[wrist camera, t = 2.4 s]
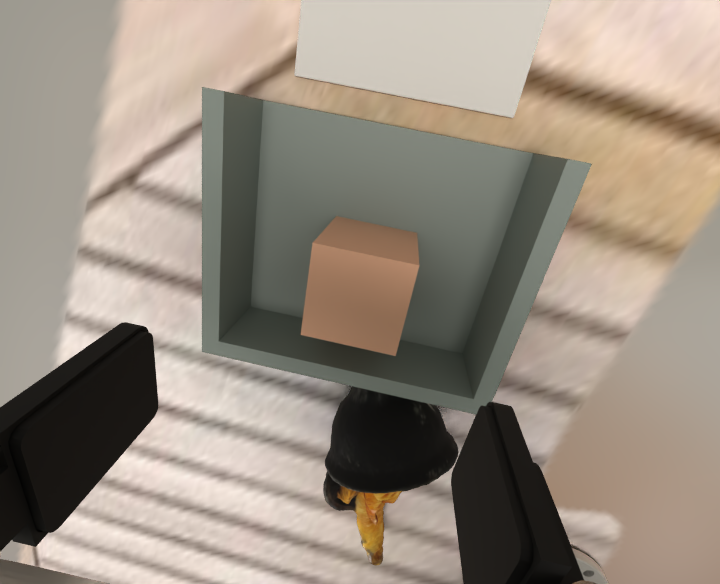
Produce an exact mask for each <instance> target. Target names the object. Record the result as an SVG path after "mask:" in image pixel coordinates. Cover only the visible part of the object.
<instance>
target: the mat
mask: <svg viewBox="0 0 720 584" xmlns="http://www.w3.org/2000/svg"><path fill="white" fill-rule="evenodd" d="M550 3H551V0H301V9H300V20H299V31H298V42H297V53H296V64H295V76H297V77H302V78H307V79H312V80H317V81H322V82H328V83H333V84H338V85H343V86H348V87H353V88H359V89H364V90H369V91H374V92H379V93H384V94H390V95H395V96H400V97H405V98H410V99H415V100H421V101H426V102H431V103H436V104H441V105H446V106H452V107H457V108H462V109H467V110H472V111H477V112H483V113H488V114H493V115H498V116H503V117H508V118H514V115H515V112H516V109H517V106H518V103H519V99H520V96H521V93H522V90H523V87H524V84H525V81H526V78H527V74H528V71H529V68H530V65H531V62H532V59H533V56H534V53H535V49H536V46H537V43H538V40H539V37H540V34H541V31H542V28H543V24H544V21H545V18H546V15H547V12H548V9H549V6H550Z"/></svg>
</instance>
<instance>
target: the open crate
mask: <svg viewBox="0 0 720 584" xmlns="http://www.w3.org/2000/svg"><path fill="white" fill-rule="evenodd" d="M591 165H592V164H591V163H586V162H581V161H575V160H570V159H565V158H559V157H552V156H546V155H540V154H534V153H529V152H524V151H519V150H514V149H509V148H503V147H498V146H493V145H488V144H483V143H478V142H473V141H468V140H463V139H458V138H453V137H448V136H443V135H437V134H432V133H427V132H422V131H417V130H412V129H407V128H402V127H397V126H392V125H387V124H382V123H377V122H372V121H366V120H361V119H356V118H351V117H346V116H341V115H336V114H331V113H326V112H321V111H316V110H311V109H306V108H300V107H295V106H290V105H285V104H280V103H275V102H270V101H265V100H260V99H256V98H252V97H247V96H243V95H238V94H234V93H229V92H225V91H220V90H215V89H210V88H205V87H202V352H205V353H209V354H214V355H218V356H222V357H227V358H231V359H236V360H240V361H244V362H249V363H253V364H257V365H262V366H266V367H271V368H275V369H279V370H284V371H288V372H292V373H297V374H301V375H306V376H310V377H314V378H319V379H323V380H327V381H332V382H336V383H341V384H345V385H349V386H354V387H358V388H363V389H367V390H371V391H376V392H380V393H384V394H389V395H393V396H398V397H402V398H406V399H411V400H415V401H419V402H424V403H428V404H433V405H437V406H441V407H446V408H450V409H454V410H459V411H463V412H468V413H472V414H477V412H478V409H479V407H480V406H486V405H487V403H488V402H492V400H493V398H494V395H495V393H496V391H497V388H498V386H499V384H500V381H501V379H502V376H503V374H504V372H505V369H506V367H507V364H508V362H509V360H510V357H511V355H512V353H513V350H514V348H515V345H516V343H517V341H518V338H519V336H520V334H521V331H522V329H523V326H524V324H525V322H526V319H527V317H528V314H529V312H530V310H531V307H532V305H533V303H534V300H535V298H536V295H537V293H538V291H539V288H540V286H541V284H542V281H543V279H544V276H545V274H546V272H547V269H548V267H549V265H550V262H551V260H552V257H553V255H554V253H555V250H556V248H557V245H558V243H559V241H560V238H561V236H562V234H563V231H564V229H565V226H566V224H567V222H568V219H569V217H570V215H571V212H572V210H573V207H574V205H575V203H576V200H577V198H578V196H579V193H580V191H581V188H582V186H583V184H584V181H585V179H586V176H587V174H588V172H589V169H590V167H591ZM336 216H339V217H344V218H348V219H353V220H358V221H363V222H367V223H372V224H377V225H382V226H387V227H391V228H396V229H401V230H406V231H411V232H415V233H417V238H418V252H419V269H418V273H417V277H416V281H415V284H414V288H413V292H412V296H411V300H410V303H409V307H408V311H407V315H406V319H405V322H404V326H403V330H402V334H401V338H400V341H399V345H398V349H397V353H396V356H393V355H388V354H384V353H380V352H375V351H371V350H366V349H362V348H357V347H353V346H348V345H344V344H339V343H335V342H330V341H326V340H321V339H317V338H312V337H308V336H304V335H301V328H302V320H303V312H304V305H305V297H306V289H307V282H308V274H309V266H310V259H311V251H312V243H313V242H314V241H315V239H316V238H317V237H318V236H319V235H320V234H321V233H322V232H323V231H324V229H325V228H326V227H327V226H328V225H329V224H330V223H331V222H332V220H333V219H334V218H335V217H336Z"/></svg>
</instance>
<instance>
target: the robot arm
mask: <svg viewBox="0 0 720 584" xmlns="http://www.w3.org/2000/svg"><path fill="white" fill-rule="evenodd" d="M157 410H158V394H157V382H156V369H155V357H154V345H153V336H152V334H151V333H149V332H148V329H147V328H146V327H144V326H140V325H135V324H131V323H126V322H125V323H121V324H119V325H118V326H116V327H115V328H113V329H112V330H110V331H109V332H108V333H106V334H105V335H103V336H102V337H100V338H99V339H98V340H96V341H95V342H93V343H92V344H90V345H89V346H88V347H86V348H85V349H83V350H82V351H80V352H79V353H78V354H76V355H75V356H73V357H72V358H70V359H69V360H68V361H66V362H65V363H63V364H62V365H60V366H59V367H58V368H56V369H55V370H53V371H52V372H50V373H49V374H48V375H46V376H45V377H43V378H42V379H40V380H39V381H38V382H36V383H35V384H33V385H32V386H30V387H29V388H28V389H26V390H25V391H23V392H22V393H20V394H19V395H17V396H16V397H15V398H13V399H12V400H10V401H9V402H7V403H6V404H5V405H3V406H2V407H0V558H1V551H2V549H3V548H4V547H5V546H6V545H7V544H8V543H9V542H10V541H11V540H13V541H14V542H18V543H22V544H27V545H31V546H35V547H36V546H37V545H38V544H39V543H40V541H41V540H42V539H43V538H44V537H45V536H46V535H47V533H48V532H49V533H51V532H54V531H55V530H57V529H58V528H59V527H60V526H61V525H62V524H63V523H64V521H65V520H66V519H67V518H68V517H69V516H70V514H71V513H72V512H73V511H74V510H75V509H76V507H77V506H78V505H79V504H80V503H81V502H82V500H83V499H84V498H85V497H86V496H87V495H88V494H89V492H90V491H91V490H92V489H93V488H94V487H95V485H96V484H97V483H98V482H99V481H100V480H101V478H102V477H103V476H104V475H105V474H106V473H107V471H108V470H109V469H110V468H111V467H112V466H113V464H114V463H115V462H116V461H117V460H118V459H119V457H120V456H121V455H122V454H123V453H124V452H125V450H126V449H127V448H128V447H129V446H130V445H131V443H132V442H133V441H134V440H135V439H136V438H137V436H138V435H139V434H140V433H141V432H142V431H143V430H144V428H145V427H146V426H147V425H148V424H149V423H150V421H151V420H152V419H153V418H154V416H155V415H156V412H157ZM451 486H452V494H453V502H454V510H455V518H456V526H457V534H458V542H459V550H460V558H461V566H462V574H463V582H464V584H609V583H608V580H607V578H606V576H605V574H604V572H603V570H602V569H601V567H600V566H599V565H598V564H597V563H596V562H595V561H594V560H593V559H592V558H590V557H589V556H587V555H586V554H584V553H582V552H580V551H579V550H576V549H574V548H572V547H571V545H570V542H569V540H568V537H567V535H566V532H565V529H564V527H563V524H562V522H561V519H560V517H559V514H558V511H557V509H556V506H555V504H554V502H553V499H552V496H551V494H550V491H549V488H548V486H547V484H546V481H545V478H544V476H543V473H542V471H541V469H540V467H539V466H538V465H537V464H536V463H533V461H532V458H531V456H530V453H529V450H528V448H527V445H526V442H525V440H524V437H523V434H522V432H521V429H520V426H519V424H518V421H517V418H516V416H515V413H514V410H513V408H512V407H511V406H508V405H503V404H499V403H494V402H488V403H487V405H486V406H480V407H479V409H478V412H477V414H476V417H475V419H474V421H473V424H472V426H471V429H470V431H469V433H468V436H467V438H466V440H465V443H464V445H463V448H462V450H461V452H460V455H459V457H458V460H457V462H456V464H455V467H454V469H453V472H452V478H451ZM0 584H108V583H104V582H100V581H96V580H91V579H87V578H83V577H78V576H74V575H70V574H65V573H61V572H57V571H53V570H48V569H44V568H40V567H35V566H31V565H27V564H22V563H18V562H13V561H8V560H3V559H0Z"/></svg>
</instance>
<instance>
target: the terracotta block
mask: <svg viewBox="0 0 720 584" xmlns="http://www.w3.org/2000/svg"><path fill="white" fill-rule="evenodd" d="M418 269H419V252H418V238H417V233H415V232H411V231H406V230H401V229H396V228H391V227H387V226H382V225H377V224H372V223H367V222H363V221H358V220H353V219H348V218H344V217H339V216H336V217H335V218H334V219H333V220H332V222H331V223H330V224H329V225H328V226H327V227H326V228H325V229H324V231H323V232H322V233H321V234H320V235H319V236H318V237H317V238H316V239H315V241H314V242H313V243H312V251H311V259H310V266H309V274H308V282H307V289H306V297H305V305H304V312H303V320H302V328H301V335H304V336H308V337H312V338H317V339H321V340H326V341H330V342H335V343H339V344H344V345H348V346H353V347H357V348H362V349H366V350H371V351H375V352H380V353H384V354H388V355H393V356H396V353H397V349H398V345H399V341H400V338H401V334H402V330H403V326H404V322H405V319H406V315H407V311H408V307H409V303H410V300H411V296H412V292H413V288H414V284H415V281H416V277H417V273H418Z"/></svg>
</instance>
